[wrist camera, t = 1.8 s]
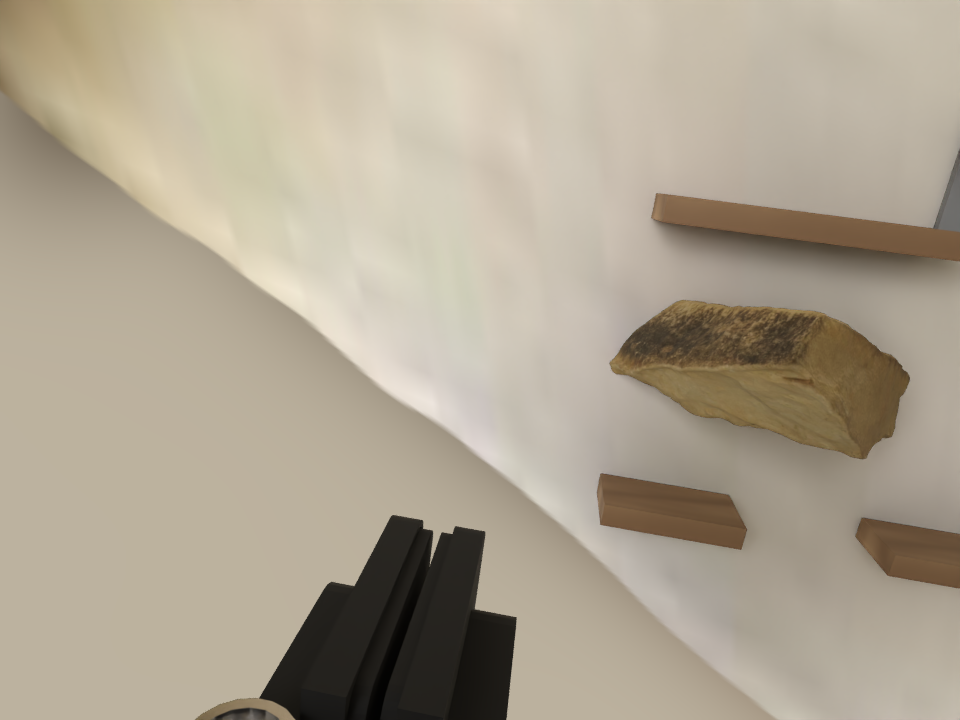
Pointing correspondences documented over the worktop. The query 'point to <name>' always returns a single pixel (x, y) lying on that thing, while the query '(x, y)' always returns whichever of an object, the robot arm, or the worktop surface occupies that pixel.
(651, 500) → the box
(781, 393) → the rock
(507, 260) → the worktop surface
